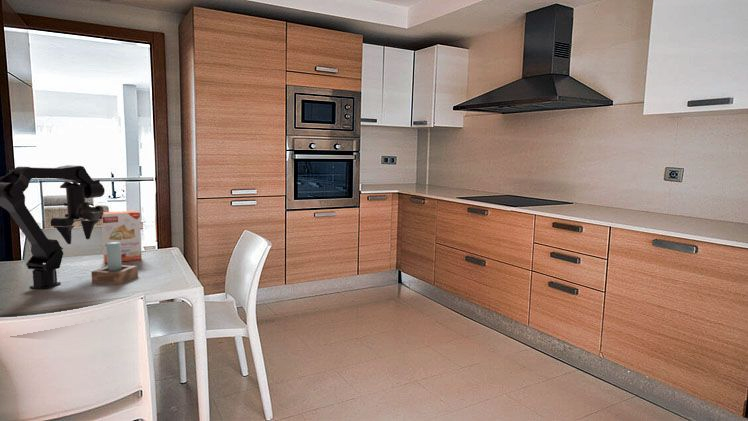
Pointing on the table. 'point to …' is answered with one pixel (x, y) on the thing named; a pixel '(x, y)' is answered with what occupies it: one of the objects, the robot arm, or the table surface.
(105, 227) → the cracker box
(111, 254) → the column
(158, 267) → the table surface
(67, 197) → the robot arm
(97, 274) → the socket base
